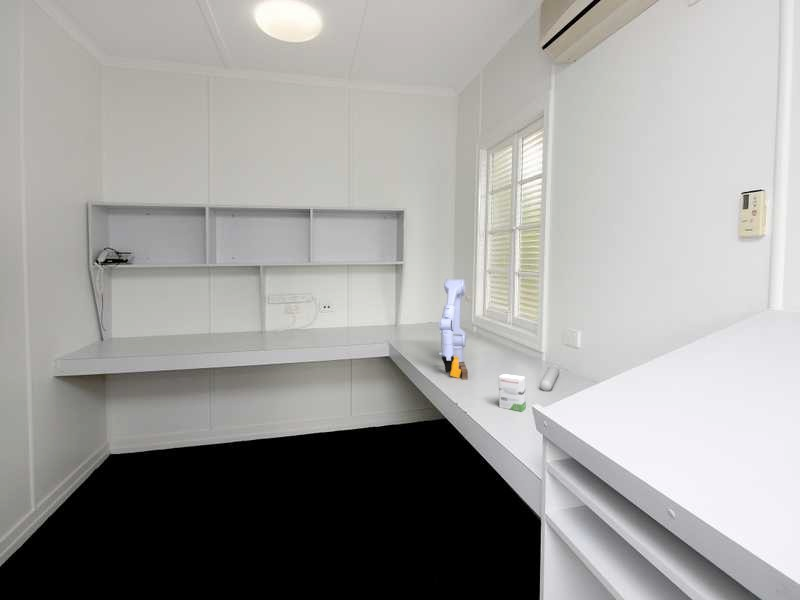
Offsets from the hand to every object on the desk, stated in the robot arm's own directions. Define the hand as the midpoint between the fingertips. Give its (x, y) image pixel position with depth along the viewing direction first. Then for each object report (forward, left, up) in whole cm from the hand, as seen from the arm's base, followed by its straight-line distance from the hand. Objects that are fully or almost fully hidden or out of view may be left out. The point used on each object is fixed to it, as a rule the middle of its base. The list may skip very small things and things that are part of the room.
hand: (448, 371), depth 192 cm
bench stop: (0, +7, -1) cm, 7 cm away
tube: (+15, +43, -2) cm, 45 cm away
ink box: (+43, +21, -2) cm, 48 cm away
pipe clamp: (-1, +3, -1) cm, 3 cm away
